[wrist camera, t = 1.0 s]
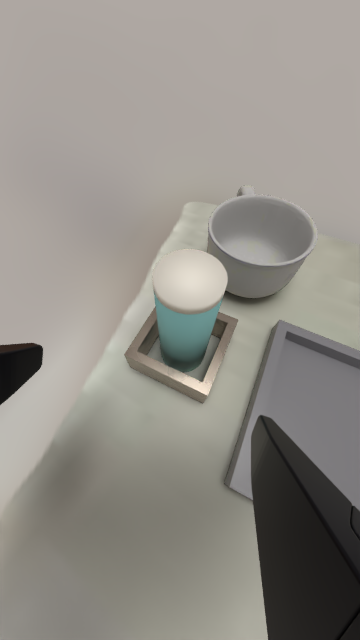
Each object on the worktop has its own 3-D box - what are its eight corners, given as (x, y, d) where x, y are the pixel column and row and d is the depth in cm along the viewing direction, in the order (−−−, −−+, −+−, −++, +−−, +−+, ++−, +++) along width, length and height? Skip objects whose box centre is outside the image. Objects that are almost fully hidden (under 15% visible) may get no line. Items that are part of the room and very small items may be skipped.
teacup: (287, 316, 27) (327, 269, 20) (196, 303, 27) (204, 254, 20) (279, 237, 34) (306, 181, 27) (206, 228, 34) (215, 172, 27)
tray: (446, 609, 15) (481, 629, 14) (224, 483, 19) (229, 487, 17) (429, 391, 23) (450, 386, 21) (272, 328, 26) (279, 319, 24)
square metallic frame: (202, 403, 22) (207, 395, 19) (130, 367, 23) (124, 354, 20) (230, 335, 25) (238, 319, 22) (166, 308, 27) (165, 290, 24)
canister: (193, 379, 23) (211, 319, 12) (153, 360, 24) (137, 288, 13) (210, 342, 25) (237, 263, 14) (173, 325, 26) (173, 240, 15)
